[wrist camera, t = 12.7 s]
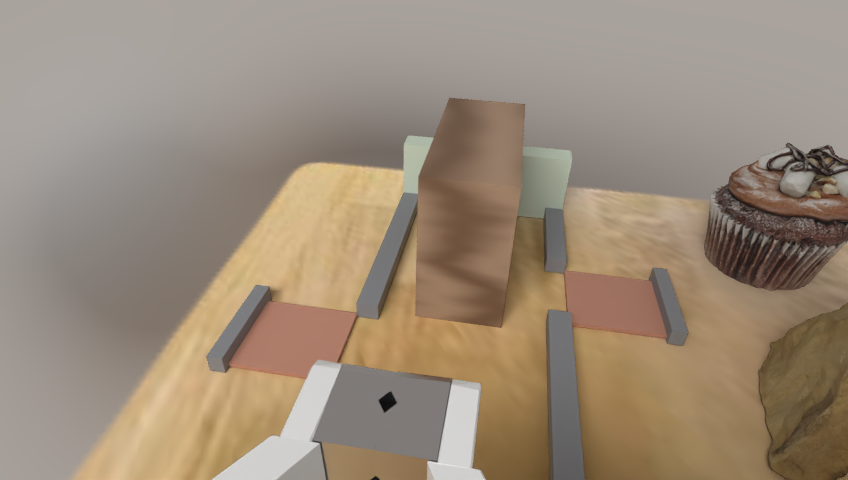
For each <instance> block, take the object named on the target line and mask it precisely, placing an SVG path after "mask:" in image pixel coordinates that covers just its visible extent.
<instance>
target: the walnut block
mask: <svg viewBox="0 0 848 480" xmlns="http://www.w3.org/2000/svg"><path fill="white" fill-rule="evenodd" d="M524 117H525V104H517V103H505V102H492V101H481V100H469V99H456V98H449V101H448V103H447V106H446V108H445V111H444V113H443V116H442V118H441V121H440V124H439V126H438V128H437V131H436V134H435V136H434V138H433V141H432V143H431V146H430V148H429V151H428V153H427V156H426V158H425V161H424V163H423V166H422V168H421V171H420V173H419V176H418V214H417V261H416V309H415V316H419V317H426V318H434V319H441V320H448V321H456V322H463V323H470V324H478V325H485V326H492V327H500V328H501V325H502V318H503V311H504V304H505V297H506V290H507V283H508V276H509V269H510V262H511V256H512V249H513V242H514V235H515V228H516V221H517V214H518V207H519V200H520V193H521V184H522V161H523V139H524Z"/></svg>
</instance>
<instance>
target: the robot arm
mask: <svg viewBox="0 0 848 480" xmlns="http://www.w3.org/2000/svg"><path fill="white" fill-rule="evenodd" d="M480 396H481V383H475V382H468V381H462V380H455V379H453V381H452V379H451V378H444V377H436V376H428V375H420V374H413V373H405V372H398V373H397V372H391V371H386V370H380V369H374V368H368V367H362V366H356V365H350V364H344V363H337V362H331V361H324V360H317V361H316V363H315V364H314V365H313V366H312V367H311V369H310V372H309V374H308V376H307V378H306V380H305V382H304V385H303V387H302V389H301V391H300V393H299V395H298V398H297V400H296V402H295V404H294V406H293V408H292V411H291V413H290V415H289V417H288V419H287V421H286V424H285V426H284V428H283V430H282V432H281V434H280V436H275V435H271V436H270V437H268V438H267V439H266V440H264V441H263V442H262V443H260V444H259V445H258V446H256V447H255V448H253V449H252V450H251V451H249V452H248V453H247V454H245V455H244V456H243V457H241V458H240V459H239V460H237V461H236V462H235V463H233V464H232V465H230V466H229V467H228V468H226V469H225V470H224V471H222V472H221V473H220V474H218V475H217V476H216V477H214V478H213V479H212V480H486V479H485V477H484V475H483V473H482V471H481V470H479V469H474V468H473V464H474V455H475V445H476V435H477V426H478V416H479V406H480Z"/></svg>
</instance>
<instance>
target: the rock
mask: <svg viewBox="0 0 848 480" xmlns="http://www.w3.org/2000/svg"><path fill="white" fill-rule="evenodd" d="M770 347H771V351H770V353H769V355H768V357H767V360H766V361H765V362H764V363H763V366H762V370H759V371H758V373H759V377H760V387H759V392H760V394H761V397H762V403H763V405H764V407H765V409H766V415H767V417H766V419H765V420H766V423H767V427H768V430H769V431H770V433H771V435H772V439H773V444H772V446H771V450H770V452H769V457H768V459H769V461H770V466H771V468H772V470H774V471H775V472H776V473H778V474H780V475H782V476H784V477H785V478H787V479H789V480H837V479H838V478H841V477H844V476H846V474H847V473H848V303H847V304H845V305H843V306H842V307H841V308H840V309H839V310H835V311H833V312H831V313H827V314H820V315H819V316H817V317H814V318H812V319H808V320H807V321H805V322H803V323H802V324H800V325H798V326H795V327H794V328H792V329H790V330H789V331H788V332H787V334H786V336H785V337H784V338H782V339H779V340H778V341H776V342H771V343H770Z"/></svg>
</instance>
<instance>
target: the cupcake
mask: <svg viewBox="0 0 848 480" xmlns="http://www.w3.org/2000/svg"><path fill="white" fill-rule="evenodd" d="M847 241H848V160H846V159H843V158H839V157H838V156H837V155H835V153H834V150H833V149H832V147H831V146H829V145H826V146H824V147H818V148H815V149H812V150H811V151H810V152H809V153H808V154H804V153H803V152H802V151H800V150H798V149H797V148H795V147H794V146H793V145H792V144H790V143H787V144H786V147H785V148H783V149H781V150H778V151H775V152H772V153H769V154H766V155H763V156H761V157H760V158H759V160H758V161H756V162H755V163H753V164H750V165H746V166H743V167H741V168H739V169H738V170H736V171H735V172H733V173H732V174H731V176H730V178H729V183H728V185H725V186H724V187H723V186H721V189H720V188H718V189H717V191H714V192H713V194H712V196H711V202H710V211H709V221H708V229H707V235H706V240H705V246H704V248H705V255H706V257H707V258H708V260H709V261H710V262H711V263H712V264H713V265H714V266H716V267H717V268H718V269H719V270H720V271H722V272H723V273H724V274H725V275H727V276H729V277H731V278H734V279H735V280H737V281H739V282H741V283H744V284H749V285H751V286H754V287H756V288H764V289H767V290H770V291H771V290H776V289H784V290H794V289H798V288H800V287H803V286H805V285H806V284H808V283H809V282H810V281H811V280H812V279H813V278H814V276H815V275H816V274H817V273H818V272H819V271H820V270H821V269H822V267H823V266H824V265H825V264H826V263H827V262H828V261H829V260H830V259H831V258H832V257H833V256H834V255H835V254H836V253H837V252H838V251H839V250H840V248H841V247H842V246H843V245H844V244H845V243H846V242H847Z"/></svg>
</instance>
